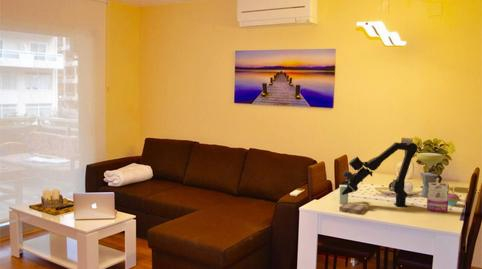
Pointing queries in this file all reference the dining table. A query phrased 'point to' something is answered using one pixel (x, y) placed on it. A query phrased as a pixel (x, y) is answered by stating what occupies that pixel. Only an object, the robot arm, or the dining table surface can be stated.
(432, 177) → the coffeepot
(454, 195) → the cupcake
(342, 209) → the walnut base
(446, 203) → the candy bar box
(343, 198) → the sage block
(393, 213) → the dining table surface
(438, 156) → the cocktail glass
